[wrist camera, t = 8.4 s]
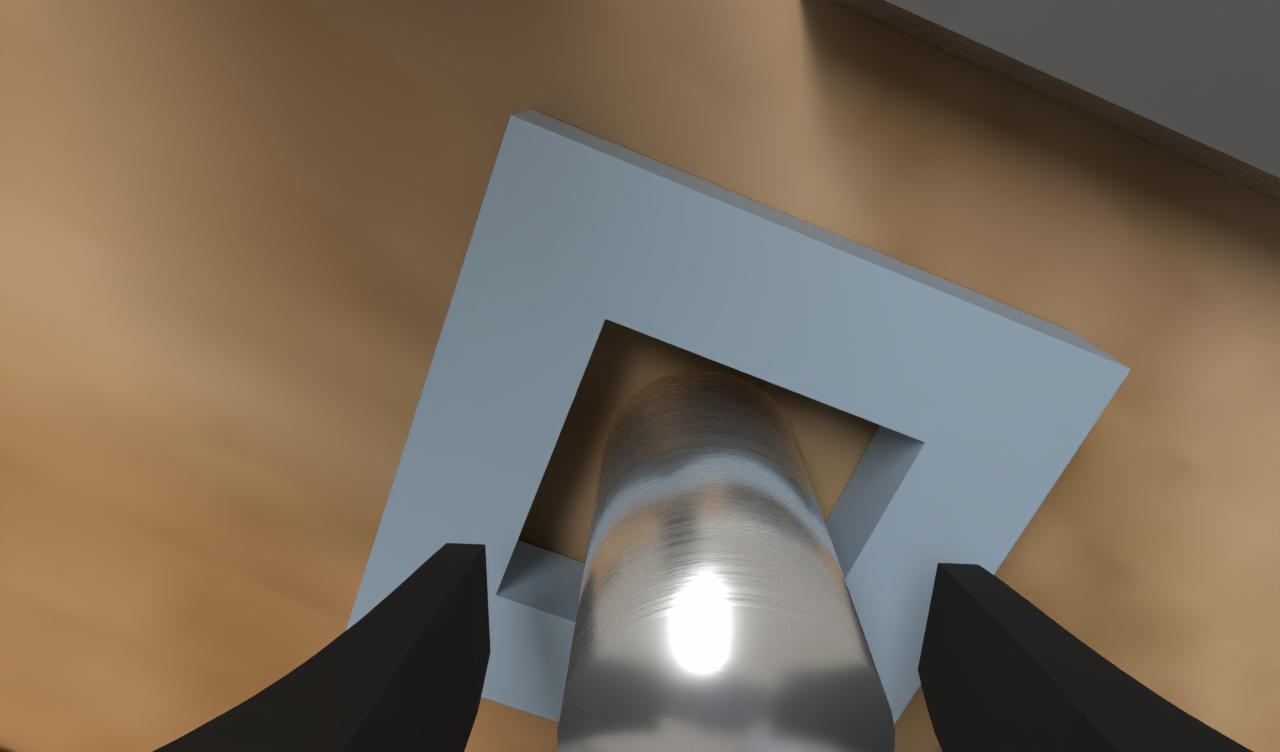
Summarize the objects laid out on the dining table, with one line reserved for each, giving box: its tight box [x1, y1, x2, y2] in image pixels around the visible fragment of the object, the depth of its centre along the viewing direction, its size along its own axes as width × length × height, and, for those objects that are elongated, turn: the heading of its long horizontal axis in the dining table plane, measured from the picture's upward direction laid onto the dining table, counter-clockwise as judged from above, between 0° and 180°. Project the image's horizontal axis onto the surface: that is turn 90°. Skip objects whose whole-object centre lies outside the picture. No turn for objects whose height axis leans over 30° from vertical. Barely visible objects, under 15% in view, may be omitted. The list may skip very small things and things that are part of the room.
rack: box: [346, 109, 1131, 724], centre depth 16 cm, size 11×11×2 cm
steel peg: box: [558, 371, 895, 752], centre depth 13 cm, size 4×4×8 cm
